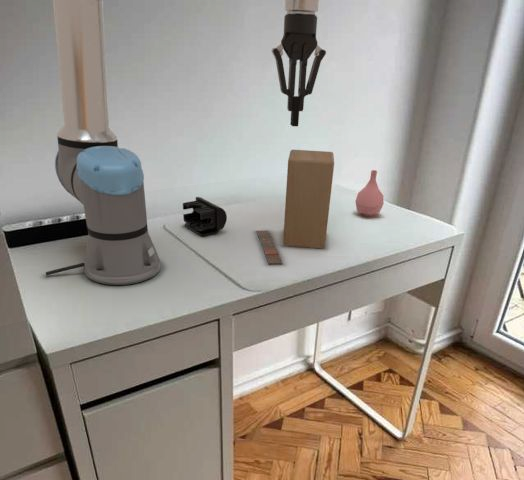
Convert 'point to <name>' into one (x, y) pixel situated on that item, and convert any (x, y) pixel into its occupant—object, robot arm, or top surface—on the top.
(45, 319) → the top surface
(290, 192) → the wooden block
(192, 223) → the end cap
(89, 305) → the top surface
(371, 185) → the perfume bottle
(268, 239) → the ruler
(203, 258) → the top surface
